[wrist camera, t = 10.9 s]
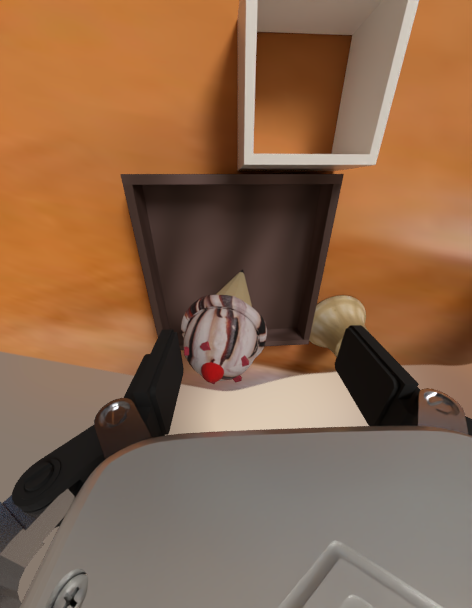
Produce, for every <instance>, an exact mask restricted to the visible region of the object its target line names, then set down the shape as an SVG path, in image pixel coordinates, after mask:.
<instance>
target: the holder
mask: <svg viewBox="0 0 472 608" xmlns="http://www.w3.org/2000/svg"><path fill="white" fill-rule="evenodd" d="M418 2H419V0H239V10H238V171H338V170H345V169H352V168H358V167H365V166H371V165H376V161H377V157H378V153H379V150H380V146H381V142H382V138H383V135H384V131H385V127H386V123H387V119H388V116H389V112H390V108H391V104H392V101H393V97H394V93H395V89H396V85H397V82H398V78H399V74H400V70H401V67H402V63H403V59H404V55H405V51H406V48H407V44H408V40H409V36H410V33H411V29H412V25H413V21H414V18H415V14H416V10H417V6H418ZM257 32H279V33H306V34H333V35H352V40H351V46H350V51H349V57H348V63H347V68H346V74H345V80H344V85H343V91H342V97H341V102H340V108H339V114H338V119H337V125H336V131H335V136H334V142H333V148H332V153H331V154H253V144H254V110H255V76H256V42H257Z"/></svg>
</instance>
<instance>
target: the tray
mask: <svg viewBox="0 0 472 608" xmlns="http://www.w3.org/2000/svg"><path fill="white" fill-rule="evenodd" d="M343 175H344V174H121V178H122V183H123V187H124V191H125V196H126V200H127V205H128V209H129V213H130V218H131V222H132V226H133V231H134V235H135V239H136V244H137V248H138V252H139V257H140V261H141V266H142V270H143V274H144V279H145V283H146V287H147V292H148V296H149V300H150V305H151V309H152V313H153V318H154V322H155V327H156V331H157V335H158V337H159V335H160V332H161V331H162V330H166V329H173V330H174V332H177V334H178V340H179V345H180V350H184V338H183V336H182V334H181V324H182V319H183V316H184V314H185V312H186V311H187V309H188V308H189V307H190V306H191V305H192V304H193V303H194V302H195V301H197V300H198V299H199V298H201V297H203V296H207V295H216V294H217V293H218V292H219V291H220V290H221V289H222V288H223V287H224V286H225V285H226V284H227V283H228V282H230V281H231V280H232V279H233V278H234V277H235V276H236V275H237V274H238V273H239V272H240V271H241V270H242V269H243V272H244V276H245V280H246V284H247V288H248V292H249V296H250V300H251V304H252V308H254V309H255V310H256V311H257V312H258V313H259V314H260V315H261V316H262V317H263V319H264V321H265V323H266V328H267V336H266V342H265V346H279V345H300V344H308V343H309V339H310V334H311V329H312V324H313V319H314V314H315V310H316V305H317V300H318V295H319V290H320V286H321V281H322V276H323V271H324V266H325V261H326V257H327V252H328V247H329V242H330V237H331V233H332V228H333V223H334V218H335V213H336V208H337V204H338V199H339V194H340V189H341V184H342V180H343Z"/></svg>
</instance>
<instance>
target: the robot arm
mask: <svg viewBox="0 0 472 608" xmlns="http://www.w3.org/2000/svg"><path fill="white" fill-rule="evenodd" d="M335 369H336V371H337V372H338V374H339V376H340V378H341V379H342V381H343V383H344V384H345V386H346V388H347V389H348V391H349V393H350V394H351V396H352V398H353V399H354V401H355V403H356V405H357V406H358V408H359V410H360V411H361V413H362V415H363V417H364V418H365V420H366V422H367V423H368V425H369V426H362V427H361V426H360V427H327V428H301V429H300V428H299V429H271V430H247V431H223V432H204V433H186V434H176V435H166V434H168V433H169V431H170V426H171V422H172V418H173V414H174V410H175V406H176V401H177V397H178V393H179V389H180V385H181V381H182V376H183V363H182V357H181V351H180V345H179V340H178V334H177V332H174V330H173V329H166V330H162V331H161V332H160V335H159V337H158V339H157V341H156V343H155V345H154V348H153V350H152V352H151V354H146V355H145V356H144V358H143V360H142V362H141V364H140V366H139V368H138V370H137V372H136V374H135V376H134V378H133V380H132V382H131V384H130V386H129V388H128V390H127V392H126V394H125V396H124V398H120V399H115V400H113V401H110V402H109V403H107V404H106V405H104V406H103V407H102V408H101V409H100V410H99V412H98V413H97V415H96V417H95V420H94V425H93V426H91V427H90V428H88V429H87V430H85V431H84V432H82V433H81V434H79V435H78V436H76V437H74V438H73V439H71V440H70V441H69V442H67V443H65V444H64V445H62V446H61V447H59V448H58V449H56V450H54V451H53V452H52V453H50V454H48V455H47V456H45V457H44V458H42V459H41V460H39V461H38V462H36V463H35V464H34V465H32V466H31V467H30V468H29V469H28V470H27V471H26V472H25V473H24V474H23V475H22V476H21V477H20V479H19V480H18V482H17V483H16V485H15V487H14V490H13V492H12V495H11V496H10V497H9V498H8V499H7V500H6V501H4V502H3V503H1V502H0V608H472V419H470V418H468V417H466V416H465V413H464V410H463V408H462V407H461V406H460V404H459V403H458V402H456V401H455V400H454V399H453V398H451V397H450V396H448V395H447V394H445V393H442V392H440V391H437V390H434V389H428V388H427V389H422V390H420V389H419V388H418V387H417V386H418V383H417V382H416V381H415V380H414V379H413V378H412V377H411V376H410V374H409V373H408V372H407V371H406V370H405V369H404V368H403V367H402V366H401V365H400V364H399V363H398V362H397V361H396V360H395V359H394V358H393V357H392V356H391V355H390V354H389V353H388V352H387V351H386V350H385V349H384V348H383V347H382V345H381V344H380V343H379V342H378V341H377V340H376V339H375V338H374V337H373V336H372V335H371V334H370V333H369V332H368V331H367V330H366V329H365V328H364V327H363V326H362V325H351V326H349V327H348V328H346V330H345V332H344V336H343V339H342V342H341V345H340V349H339V352H338V355H337V358H336V362H335ZM165 435H166V436H165ZM58 526H59V528H58V530H57V532H56V534H55V536H54V538H53V540H52V542H51V544H50V546H49V548H48V550H47V552H46V554H45V556H44V558H43V560H42V562H41V564H40V566H39V568H38V571H37V573H36V575H35V576H34V579H33V581H32V583H31V585H30V587H29V589H28V591H27V593H26V595H25V597H24V599H23V601H22V603H21V602H20V600H19V596H18V592H17V591H18V586H19V581H20V578H21V576H22V574H23V572H24V569H25V568H26V566H27V565H28V563H29V562H30V561H31V559H32V558H33V556H34V555H35V554H36V553H37V552H38V550H39V549H40V548H41V547H42V546H43V545H44V543H43V540H44V539H45V538H46V537H47V536H48V535H49V533H50V532H51V531H52V530H53V529H54V528H55V527H58ZM84 574H87V575H84Z"/></svg>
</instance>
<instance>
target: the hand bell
mask: <svg viewBox="0 0 472 608" xmlns="http://www.w3.org/2000/svg"><path fill="white" fill-rule="evenodd" d="M365 320H366V313H365V309H364V306H363V305H362V303H361V302H360V301H359V300H357V299H356V298H353V297H351V296H334V297H331V298H328V299H325V300H324V301H322V302H320V303H319V304H317V305H316V310H315V314H314V319H313V324H312V329H311V334H310V339H309V341H310V342H312V343H313V344H315V345H317V346H320V347H326V348H329V349H330V350H331V351H332V352H333V353H334V354H335V355H336V357H337V355H338V352H339V349H340V345H341V342H342V339H343V336H344V332H345V330H346V328H348V327H349V326H351V325H362V326H363V327H364V328H365V329H366V327H365V325H364V324H365ZM366 330H367V329H366ZM367 331H368V330H367Z"/></svg>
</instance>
